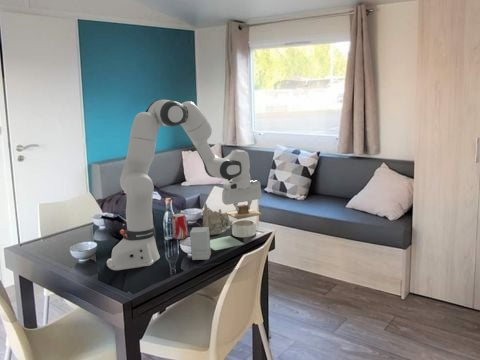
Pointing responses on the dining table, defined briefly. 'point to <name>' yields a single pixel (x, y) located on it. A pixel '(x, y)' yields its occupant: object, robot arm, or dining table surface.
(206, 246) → the supplement box
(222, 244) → the mat
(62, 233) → the dining table surface
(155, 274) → the dining table surface
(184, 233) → the soda can
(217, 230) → the ceramic cottage
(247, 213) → the lid
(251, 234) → the pipe section
